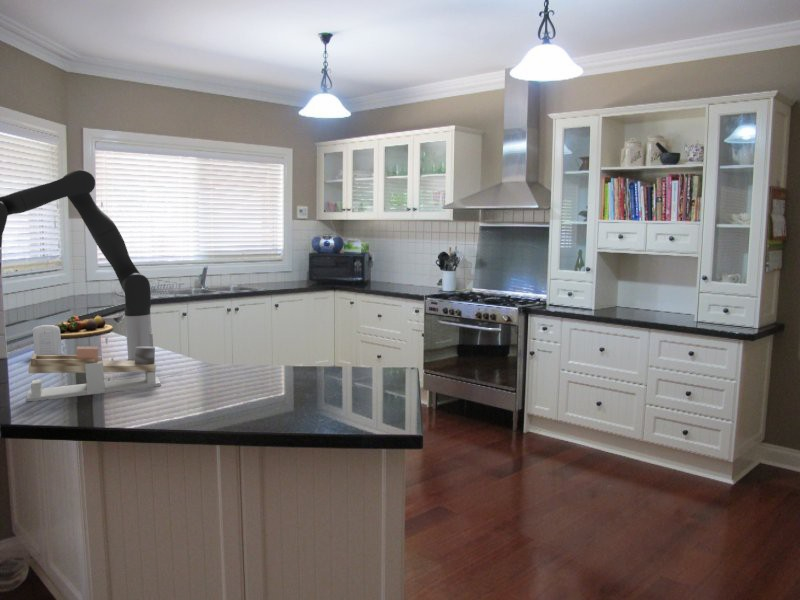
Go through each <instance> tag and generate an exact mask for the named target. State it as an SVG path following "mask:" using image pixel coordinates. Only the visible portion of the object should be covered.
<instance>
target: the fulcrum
mask: <svg viewBox="0 0 800 600" xmlns="http://www.w3.org/2000/svg"><path fill="white" fill-rule="evenodd" d="M98 361H103V357H102V355H100V356H99V355H98ZM85 370H86V372H85V379H86V381H85V382H86V383H80V384H78V383H77V384H71V385H69V384H68V385H61V386H53V387H44V388H43V385H42V384H43V383H42V379H35V380H34V379H32V381H31V384H30V389H29V390H28V393H27V396H26V402H27V401H33V402H39V401H38V400H41V401H47V400H46V399H49V400H56V399H57V400H58V399H64V398H73V397H81V396H90V395H98V394H99V395H100V394H106V393H113V392H120V391H121V392H123V391H130V390H138V389H148V388H153V387H154V386H156V387H161V381H160V379H159V377H158V375H156V370H155V371H152V372H144V373H145V376H139V377H133V378H132V377H131V378H123V379H114V380H105V372H104V371H103V362H100V363H90V364H85ZM147 387H148V388H147Z"/></svg>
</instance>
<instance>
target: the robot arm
mask: <svg viewBox="0 0 800 600" xmlns="http://www.w3.org/2000/svg"><path fill="white" fill-rule="evenodd" d="M95 187H96V179H95V177H94V175H93V174H92V173H90V172H89V171H87V170H84V169H76V170H73V171H71V172H69V173H67V174H65V175H64V176H63V177H62V178H59V179H57V180H54V181H51V182H47V183H44V184H39V185H37V186H33V187H27V188H25V189H22V190H17V191H15V192H12V193H10V194H6V195H3V196H0V275H1V273H2V271H1V270H2V261H3V260H2V258H3V254H2V246H3V245H2V244H3V234H4V231H5V227H6V225H7V220H8V216H10V215H17V214H21V213H25V212H28V211H32V210H34V209H37V208H39V207H42V206H46V205H47V204H50V203H52V202H55V201H57V200H60V199H63V198H67V199H68V200H69V201H70V202H71V204H72V205H73V207H74V208H75V209H76V211H77V213H78V215H79V216H80V218H81V219H82V221H83V222H84V225H85V227H86V228H87V230H88V231H89V233H90V234H91V235H90V236H92V238H93V240H94V242H95V244H96V245H97V247H98V248H99V250H100V252H101V254H102V255H103V256H104V258H105V259H106V260H107V262H108V263H109V264H110V265H111V268H112V270H113V271H114V272H115V275H116V278H117V280H118V282H119V284H120V287H121V289H122V291H123V292H124V300H125V301H124V302H125V303H124V305H125V306H124V323H125V333H126V348H127V359H128V360H135V347H139V346H150V347H154V336H153V333H152V332H153V331H152V318H151V316H152V315H151V308H152V307H151V306H152V297H151V284H150V281H149V279H148V277H146V276H145V275H144V274H142V273H141V272H140V271H139V270H138V268H137V267H136V265H135V264H134V263H133V261H132V259H131V256H130V255H129V252H128V248H127V246H126V242H125V240H124V238H123V236H122V234H121V232H120V230H119V228H118V227H117V225H116V224H115V222H114V221H113V220H112V219H111V218H110V217H109V216H108V214H106V213H105V212H104V211H102V210H101V209H100V208H99V206H98V205H97V204H96V202H95V201H94V199H93V197H92V194H91V193H92V192H93V191H94V189H95Z"/></svg>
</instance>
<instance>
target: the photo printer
mask: <svg viewBox="0 0 800 600" xmlns="http://www.w3.org/2000/svg"><path fill="white" fill-rule="evenodd" d="M32 336H33V337H32V338H33V339H32V340H33V350H34V352H33V354H37V355H63V350H62V339H61V335H60V328H59V327H58V326H55V325H52V324H42V325H38V326H35V327H33V328H32Z"/></svg>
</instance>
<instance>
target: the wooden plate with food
mask: <svg viewBox="0 0 800 600" xmlns="http://www.w3.org/2000/svg"><path fill="white" fill-rule="evenodd" d="M54 326H58V327H59V328H60V335H61V340H62V339H76V338H77V339H79V338H78V337H80V338H88V337H87V336H89V337H95V336H94V335H96V336H100V335H106V334H108V333H111V332H112V331H114V327H113V325H110V324H106V320H105V319H104V318H103V317H102V316H100V315H96V316H95V317H94V318H93V319H92V318H89V319H80V318H79V316H77V315H72V316H70V318H67V321H61V322H60V323H56V325H54ZM105 333H106V334H105Z"/></svg>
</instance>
